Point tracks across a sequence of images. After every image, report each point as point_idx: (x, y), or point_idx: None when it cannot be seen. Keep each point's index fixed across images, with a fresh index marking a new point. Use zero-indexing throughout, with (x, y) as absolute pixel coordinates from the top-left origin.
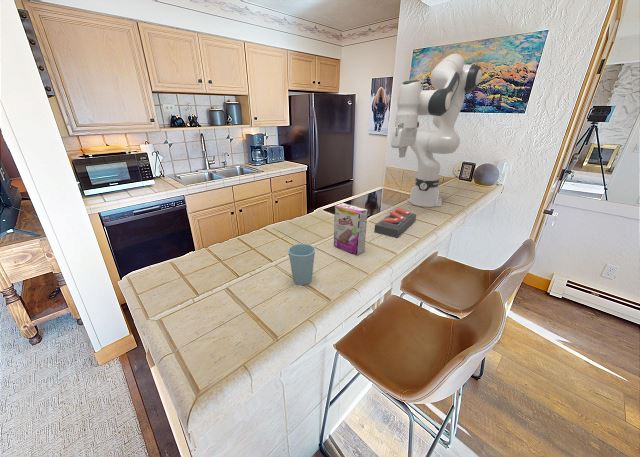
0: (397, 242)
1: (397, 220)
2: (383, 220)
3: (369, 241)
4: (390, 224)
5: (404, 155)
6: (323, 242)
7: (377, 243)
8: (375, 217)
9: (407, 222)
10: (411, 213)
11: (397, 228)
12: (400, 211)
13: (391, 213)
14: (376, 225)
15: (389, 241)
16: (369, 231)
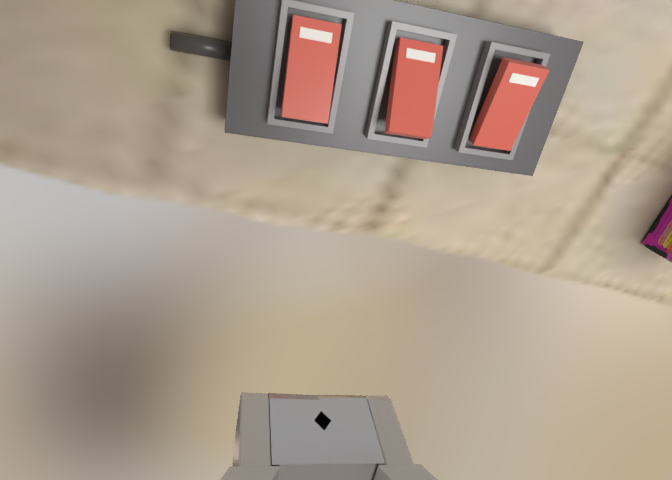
0: (604, 25)
1: (534, 66)
2: (511, 147)
3: (612, 151)
4: None
5: (303, 413)
6: (644, 294)
7: (628, 113)
8: (298, 219)
9: (430, 8)
10: (288, 3)
11: (558, 49)
12: (332, 85)
13: (431, 129)
14: (535, 166)
15: (599, 66)
16: (504, 185)
